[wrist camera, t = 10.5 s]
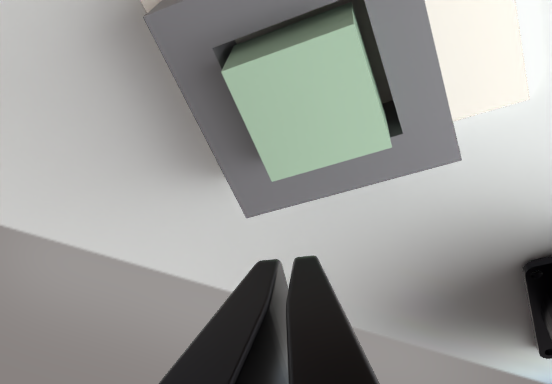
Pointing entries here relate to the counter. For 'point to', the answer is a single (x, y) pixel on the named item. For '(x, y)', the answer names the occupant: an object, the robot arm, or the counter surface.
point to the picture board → (386, 69)
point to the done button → (308, 94)
